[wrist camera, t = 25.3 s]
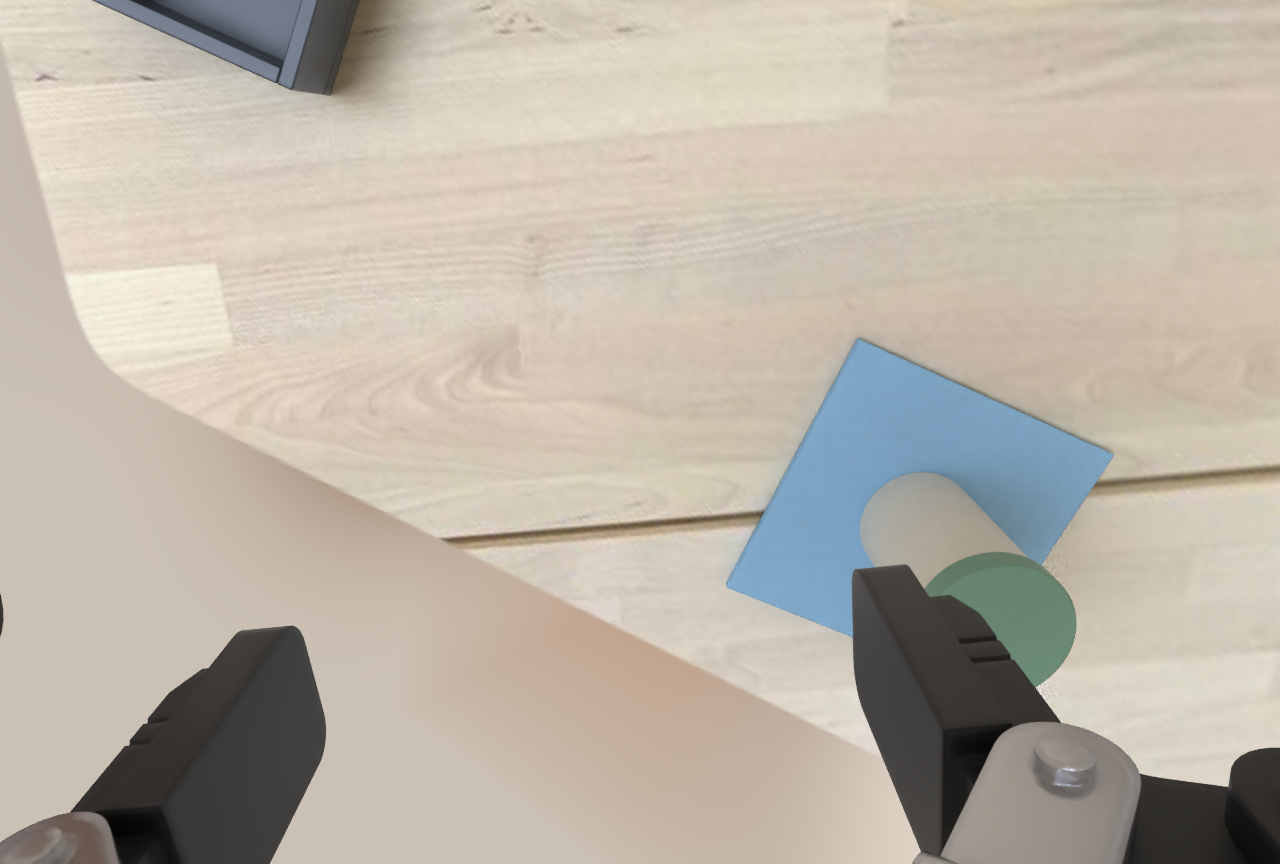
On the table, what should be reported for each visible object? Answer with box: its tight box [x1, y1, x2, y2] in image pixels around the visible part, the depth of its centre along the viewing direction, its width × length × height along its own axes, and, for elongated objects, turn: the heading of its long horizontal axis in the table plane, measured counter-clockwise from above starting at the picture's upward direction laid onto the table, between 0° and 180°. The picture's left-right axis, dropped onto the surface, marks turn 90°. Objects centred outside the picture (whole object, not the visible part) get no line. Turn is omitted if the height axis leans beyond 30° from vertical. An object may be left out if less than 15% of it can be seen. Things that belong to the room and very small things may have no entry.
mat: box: [726, 338, 1114, 637], centre depth 42 cm, size 14×14×1 cm
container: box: [860, 472, 1076, 687], centre depth 37 cm, size 6×6×10 cm
